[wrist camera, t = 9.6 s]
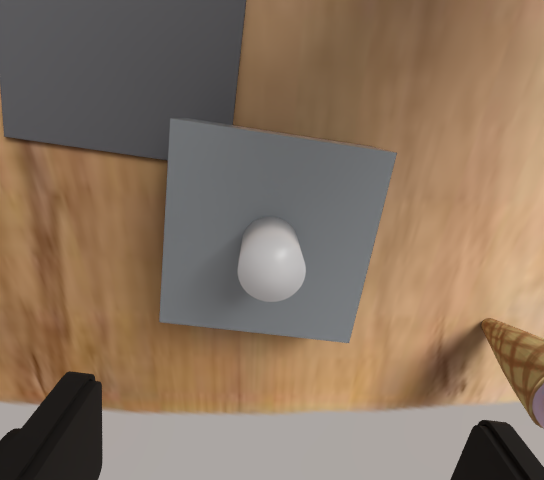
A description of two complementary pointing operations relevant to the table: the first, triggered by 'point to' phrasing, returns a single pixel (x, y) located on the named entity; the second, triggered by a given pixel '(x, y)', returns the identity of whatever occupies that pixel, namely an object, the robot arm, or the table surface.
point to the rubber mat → (117, 70)
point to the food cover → (268, 229)
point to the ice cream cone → (520, 364)
